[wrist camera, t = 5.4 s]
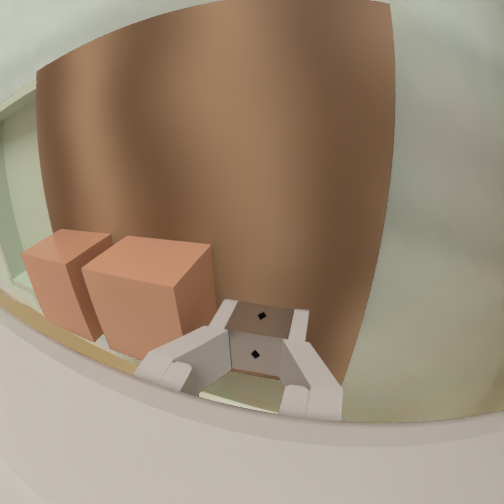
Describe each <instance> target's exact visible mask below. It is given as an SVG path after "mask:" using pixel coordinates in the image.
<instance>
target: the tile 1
mask: <svg viewBox="0 0 504 504" xmlns="http://www.w3.org/2000/svg"><path fill="white" fill-rule="evenodd" d="M111 246H113V241H112V236H111V234H107V233H97V232H87V231H77V230H67V229H60V230H58V231H57V232H55V233H53V234H51V235H50V236H48V237H46V238H44V239H43V240H41V241H39V242H38V243H36V244H34V245H33V246H31V247H30V248H28V249H26V250H25V251H23V252H22V253H21V256H22V259H23V262H24V265H25V268H26V271H27V273H28V276H29V279H30V282H31V284H32V287H33V290H34V292H35V295H36V297H37V299H38V302H39V304H40V307H41V309H42V311H43V313H44V316H45V318H46V320H47V321H49V322H51V323H53V324H55V325H57V326H59V327H61V328H63V329H66V330H68V331H70V332H72V333H74V334H76V335H79V336H81V337H83V338H85V339H88V340H90V341H92V342H95V341H96V340H97V339H98V338H99V337H100V336H101V335H102V334H103V330H102V328H101V325H100V323H99V320H98V317H97V315H96V312H95V309H94V306H93V304H92V301H91V298H90V295H89V292H88V289H87V286H86V283H85V280H84V276H83V273H82V270H81V268H82V267H83V266H85V265H86V264H88V263H89V262H90V261H92V260H93V259H94V258H96V257H97V256H99V255H100V254H101V253H103V252H104V251H106V250H107V249H109V248H110V247H111Z"/></svg>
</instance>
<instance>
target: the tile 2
mask: <svg viewBox="0 0 504 504" xmlns="http://www.w3.org/2000/svg"><path fill="white" fill-rule="evenodd" d="M81 270H82V273H83V276H84V280H85V283H86V286H87V289H88V292H89V295H90V298H91V301H92V304H93V306H94V309H95V312H96V315H97V317H98V320H99V323H100V325H101V328H102V330H103V333H104V335H105V337H106V340H107V342H108V345H109V347H110V349H112V350H115V351H117V352H120V353H123V354H125V355H128V356H131V357H134V358H137V359H139V360H142V361H143V359H144V358H145V357H146V355H147V354H148V352H149V351H152V350H154V349H156V348H158V347H160V346H162V345H165V344H167V343H169V342H171V341H173V340H175V339H177V338H179V337H182V336H184V335H186V334H188V333H190V332H192V331H194V330H196V329H198V328H200V327H202V326H209V324H210V322H211V321H212V319H213V317H214V316H215V314H216V312H217V306H216V295H215V284H214V272H213V259H212V246H211V244H203V243H193V242H184V241H174V240H165V239H155V238H145V237H136V236H126V237H125V238H123V239H122V240H120V241H119V242H117V243H116V244H114V245H113V246H111V247H110V248H109V249H107V250H106V251H104V252H103V253H101V254H100V255H99V256H97V257H96V258H94V259H93V260H92V261H90V262H89V263H88V264H86V265H85V266H83V267H82V268H81Z"/></svg>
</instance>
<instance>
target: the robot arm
mask: <svg viewBox="0 0 504 504" xmlns="http://www.w3.org/2000/svg"><path fill="white" fill-rule="evenodd" d="M309 312H310V311H309V310H305V309H290V308H282V307H274V306H267V305H261V304H255V303H249V302H243V301H237V300H231V299H225V300H224V301H223V302H222V304H221V305H220V307H219V309H218V311H217V312H216V314H215V316H214V317H213V319H212V321H211V322H210V324H209V326H202V327H200V328H198V329H196V330H194V331H192V332H190V333H188V334H186V335H184V336H182V337H179V338H177V339H175V340H173V341H171V342H169V343H167V344H165V345H162V346H160V347H158V348H156V349H154V350H152V351H149V352H148V354H147V355H146V357H145V358H144V359H143V361H142V362H141V363H140V365H139V366H138V367H137V369H136V370H135V372H134V373H133V374H132V375H130V374H128V373H125V372H123V371H120V370H118V369H115V368H113V367H110V366H108V365H106V364H103V363H101V362H99V361H97V360H94V359H92V358H90V357H88V356H86V355H84V354H82V353H79V352H77V351H75V350H73V349H71V348H69V347H67V346H65V345H63V344H61V343H60V342H58V341H56V340H54V339H52V338H50V337H48V336H46V335H45V334H43V333H41V332H40V331H38V330H36V329H34V328H33V327H31V326H29V325H28V324H26V323H24V322H23V321H21V320H19V319H18V318H16V317H14V316H13V315H12V314H10V313H9V312H7V311H6V310H4V309H3V308H1V307H0V504H504V410H502V411H497V412H492V413H487V414H482V415H476V416H469V417H462V418H455V419H446V420H436V421H422V422H400V423H368V422H345V421H341V418H342V401H343V389H342V387H341V386H340V384H339V383H338V382H337V380H336V379H335V377H334V376H333V375H332V373H331V372H330V370H329V369H328V368H327V366H326V365H325V363H324V362H323V361H322V359H321V358H320V356H319V355H318V354H317V352H316V351H315V349H314V348H313V347H312V345H311V344H310V342H305V340H306V333H307V326H308V319H309ZM231 368H234V369H240V370H246V371H252V372H258V373H263V374H268V375H273V376H279V378H280V381H281V383H282V385H283V388H284V394H283V398H282V402H281V406H280V410H279V413H278V414H273V413H267V412H262V411H257V410H251V409H246V408H242V407H237V406H232V405H228V404H224V403H220V402H215V401H211V400H208V399H204V398H200V397H199V393H200V392H201V391H203V390H204V389H206V388H207V387H208V386H210V385H211V384H212V383H214V382H215V381H217V380H218V379H219V378H221V377H222V376H223V375H225V374H226V373H227V372H229V371H230V370H231Z"/></svg>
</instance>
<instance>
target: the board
mask: <svg viewBox="0 0 504 504" xmlns="http://www.w3.org/2000/svg"><path fill="white" fill-rule="evenodd" d="M36 122H37V138H38V150H39V159H40V168H41V175H42V182H43V188H44V194H45V199H46V204H47V209H48V214H49V219H50V223H51V227H52V232H53V233H55V232H57V231H58V230H60V229H67V230H77V231H87V232H97V233H107V234H111V236H112V241H113V245H114V244H116V243H117V242H119V241H120V240H122V239H123V238H125V237H126V236H136V237H145V238H155V239H165V240H174V241H184V242H193V243H203V244H211V246H212V259H213V272H214V284H215V295H216V306H217V311H218V309H219V307H220V305H221V304H222V302H223V301H224V300H225V299H231V300H237V301H243V302H249V303H255V304H261V305H267V306H274V307H282V308H290V309H305V310H309V311H310V312H309V319H308V326H307V333H306V340H305V342H310V344H311V345H312V347H313V348H314V349H315V351H316V352H317V354H318V355H319V356H320V358H321V359H322V361H323V362H324V363H325V365H326V366H327V368H328V369H329V370H330V372H331V373H332V375H333V376H334V377H335V379H336V380H337V382H338V383H339V384H340V386H341V384H342V382H343V379H344V376H345V373H346V370H347V368H348V365H349V362H350V359H351V356H352V353H353V350H354V346H355V343H356V340H357V337H358V334H359V330H360V327H361V323H362V320H363V316H364V313H365V309H366V305H367V301H368V298H369V294H370V290H371V285H372V281H373V277H374V273H375V268H376V263H377V259H378V254H379V249H380V244H381V238H382V233H383V227H384V221H385V215H386V208H387V201H388V194H389V186H390V177H391V168H392V157H393V144H394V127H395V58H394V42H393V30H392V20H391V12H390V4H388V3H383V2H377V1H371V0H225V1H219V2H213V3H207V4H202V5H198V6H193V7H189V8H184V9H180V10H176V11H172V12H169V13H165V14H162V15H158V16H155V17H152V18H149V19H146V20H143V21H140V22H137V23H134V24H131V25H129V26H126V27H123V28H121V29H118V30H116V31H113V32H111V33H109V34H106V35H104V36H102V37H99V38H97V39H95V40H93V41H91V42H89V43H87V44H84V45H82V46H80V47H78V48H77V49H75V50H73V51H71V52H69V53H67V54H65V55H63V56H62V57H60V58H58V59H56V60H55V61H53V62H51V63H50V64H48V65H46V66H45V67H43V68H42V69H40V70H38V71H37V77H36ZM103 334H104V333H103ZM230 371H234V372H239V373H244V374H249V375H254V376H260V377H265V378H271V379H277V380H280V378H279V376H273V375H268V374H263V373H258V372H252V371H246V370H240V369H234V368H231V370H230Z"/></svg>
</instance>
